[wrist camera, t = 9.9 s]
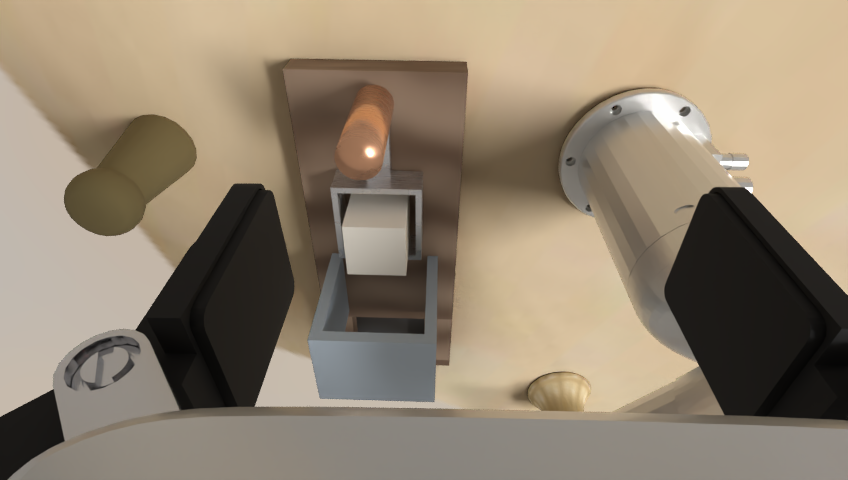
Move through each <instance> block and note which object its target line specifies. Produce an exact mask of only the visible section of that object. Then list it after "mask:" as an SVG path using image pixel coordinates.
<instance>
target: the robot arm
mask: <svg viewBox="0 0 848 480" xmlns="http://www.w3.org/2000/svg"><path fill="white" fill-rule="evenodd" d="M615 105H616V107H615V108H612V107H613V106H615ZM681 108H682V109H681ZM711 143H712V135H711V131H710V126H709V123H708V122H707V120H706V118H705V116H704V114H703V113H702V112H701V111H700V110H699V109H698V107H697V106H696V105H695V104H693V103H692V102H691V101H690V100H688V99H687V98H686V97H684V96H682V95H680V94H678V93H675V92H673V91H668V90H664V89H654V88H644V89H637V90H631V91H627V92H624V93H621V94H618V95H615V96H613V97H611V98H609V99H607V100H605V101H603V102H601V103H599V104H598V105H597V106H595V107H594V108H593V109H591V110H590V111H588V112H587V113H586V114H585V115H584V116H583V117H582V118H581V119H580V120H579V121H578V122H577V123H576V124H575V126H574V127H573V129H572V130H571V131H570V133H569V134H568V136H567V138H566V140H565V142H564V144H563V146H562V149H561V153H560V157H559V167H558V172H559V177H560V182H561V185H562V187H563V190H564V193H565V194H566V196H567V198H568V199H569V201H570V202H571V203H572V204H573V205H574V206H575V207H576V208H577V209H579V210H580V211H581V212H583V213H585V214H586V215H589V216H592V217H594V218H595V219H596V221H597V224H598V226H599V228H600V231H601V233H602V235H603V238H604V240H605V242H606V245H607V247H608V249H609V252H610V254H611V256H612V259H613V261H614V263H615V266H616V268H617V270H618V273H619V275H620V277H621V280H622V282H623V284H624V286H625V289H626V291H627V293H628V296H629V298H630V300H631V303H632V305H633V307H634V309H635V312H636V314H637V316H638V318H639V319H640V321H641V323H642V324H643V326H644V327H645V328H646V329H647V331H648V332H649V333H650V334H651V335H652V336H653V337H654V338H656V339H657V340H658V341H659V342H660V343H661V344H663V345H664V346H666V347H667V348H669V349H671V350H672V351H674V352H676V353H678V354H680V355H682V356H684V357H686V358H688V359H690V360H692V361H695V362H697V363H698V364H699V367H697V368H695V369H693V370H691V371H690V372H688V373H686V374H684V375H682V376H680V377H678V378H677V379H676V380H675V381H674V382H672V383H670V384H668V385H666V386H664V387H662V388H660V389H658V390H655V391H653V392H651V393H649V394H647V395H645V396H643V397H641V398H639V399H637V400H635V401H633V402H631V403H629V404H627V405H625V406H623V407H621V408H619V409H617V410H615V411H613V412H574V411H529V410H480V409H424V408H363V407H361V408H360V407H255V403H256V401H257V398H258V395H259V392H260V389H261V386H262V384H263V381H264V378H265V375H266V372H267V369H268V366H269V363H270V360H271V358H272V355H273V352H274V349H275V346H276V343H277V340H278V337H279V335H280V332H281V329H282V326H283V323H284V320H285V317H286V314H287V312H288V309H289V306H290V303H291V300H292V297H293V294H294V278H293V274H292V270H291V265H290V261H289V257H288V253H287V249H286V244H285V240H284V236H283V232H282V228H281V224H280V219H279V215H278V211H277V207H276V203H275V199H274V195H273V193H272V191H270V190H265V188H264V186H263V185H262V184H234V185H233V186H232V187H231V189H230V190H229V192H228V193H227V195H226V196H225V198H224V200H223V201H222V203H221V204H220V206H219V207H218V209H217V210H216V212H215V213H214V215H213V216H212V218H211V219H210V221H209V222H208V224H207V225H206V227H205V229H204V230H203V232H202V233H201V235H200V236H199V238H198V239H197V241H196V242H195V243H194V244H193V245H192V246H191V247H190V248H189V250H188V251H187V253H186V254H185V256H184V257H183V259H182V260H181V262H180V263H179V265H178V266H177V268H176V270H175V271H174V273H173V274H172V276H171V277H170V279H169V280H168V282H167V283H166V285H165V286H164V288H163V289H162V291H161V292H160V294H159V295H158V297H157V298H156V300H155V302H154V303H153V304H152V306H151V307H150V309H149V311H148V312H147V314H146V315H145V316H144V318H143V320H142V321H141V323H140V324H139V326H138V327H137V329H136V330H128V329H119V330H113V331H108V332H105V333H102V334H99V335H96V336H94V337H92V338H90V339H88V340H86V341H84V342H82V343H81V344H80V345H78V346H77V347H75V348H74V349H73V350H72V351H70V352H69V353H68V354H67V355H66V356H65V357H64V359H63V360H62V361H61V362H60V363H59V365H58V367H57V369H56V371H55V373H54V375H53V388H54V389H53V390H51V391H49V392H47V393H46V394H43V395H42V396H40V397H38V398H36V399H34V400H32V401H30V402H28V403H26V404H24V405H23V406H21V407H18V408H17V409H15V410H13V411H11V412H9V413H7V414H5V415H3V416H1V417H0V480H848V295H847V294H846V293H845V292H844V291H843V290H842V289H841V288H840V287H839V286H838V285H837V284H836V283H835V282H834V281H833V279H832V278H831V277H830V276H829V275H828V274H827V273H826V272H825V271H824V270H823V269H822V268H821V267H820V266H819V265H818V263H817V262H816V261H815V260H814V259H813V258H812V257H811V256H810V255H809V254H808V253H807V252H806V251H805V250H804V249H803V247H802V246H801V245H800V244H799V243H798V242H797V241H796V240H795V239H794V238H793V237H792V236H791V235H790V234H789V233H788V232H787V230H786V229H785V228H784V227H783V226H782V225H781V224H780V223H779V222H778V221H777V220H776V219H775V218H774V217H773V216H772V214H771V213H770V212H769V211H768V210H767V209H766V208H765V207H764V206H763V205H762V204H761V203H760V202H759V201H758V200H757V198H756V197H755V196H754V195H753V194H752V190H753V184H752V181H751V179H750V178H748V177H732V176H731V175H730V174H729V173H728V172H727V171H726V170H745V169H746V168H747V166H748V163H749V157H748V155H747V154H744V153H729V154H721V153H720V152H719V151H718V150H717V149H716V148H715V147H714V146H713V145H712V144H711ZM570 157H571V158H570ZM568 158H569V159H568ZM725 169H726V170H725Z"/></svg>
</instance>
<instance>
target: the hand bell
mask: <svg viewBox="0 0 848 480" xmlns="http://www.w3.org/2000/svg"><path fill="white" fill-rule="evenodd" d="M590 392H591V386H590V383H589V382H588V380H587V379H585V378H584V377H582V376H580V375H578V374H575V373H570V372H558V373H551V374H548V375H545V376H542V377H540V378H539V379H537V380H536V381H535V382H533V383H532V384H531V385H530V387H529V389H528V398H529V400H530V402H531V403H532V404H533V405H534V406H535V407H537V408H539V409H540V410H541V411H574V412H584V403H585V401H586V400H587V399H588V397H589V395H590Z"/></svg>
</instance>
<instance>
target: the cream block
mask: <svg viewBox="0 0 848 480" xmlns="http://www.w3.org/2000/svg"><path fill="white" fill-rule="evenodd" d="M342 232H343V241H344V249H345V257H346V266H347V274H359V275H396V276H406V272H407V261H408V249H409V238H410V196H409V195H392V194H351V196H350V199H349V203H348V207H347V210H346V214H345V217H344V221H343V225H342Z"/></svg>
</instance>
